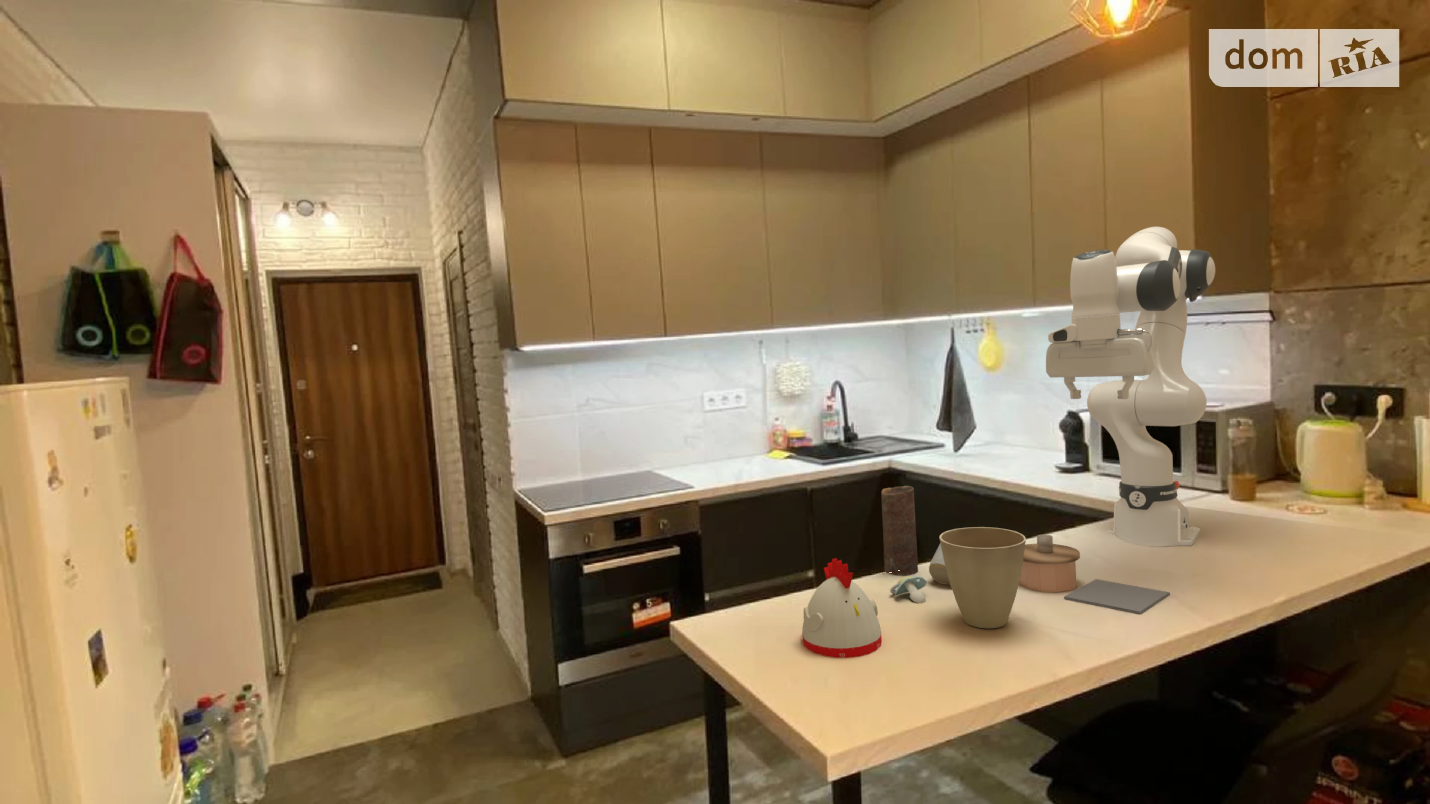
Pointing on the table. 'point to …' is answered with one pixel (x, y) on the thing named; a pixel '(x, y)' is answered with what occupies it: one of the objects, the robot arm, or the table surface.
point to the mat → (1117, 596)
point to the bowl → (1048, 576)
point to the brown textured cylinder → (899, 531)
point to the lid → (1049, 552)
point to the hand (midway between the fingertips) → (1099, 398)
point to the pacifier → (910, 588)
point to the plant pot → (983, 572)
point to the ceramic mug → (939, 567)
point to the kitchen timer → (841, 617)
